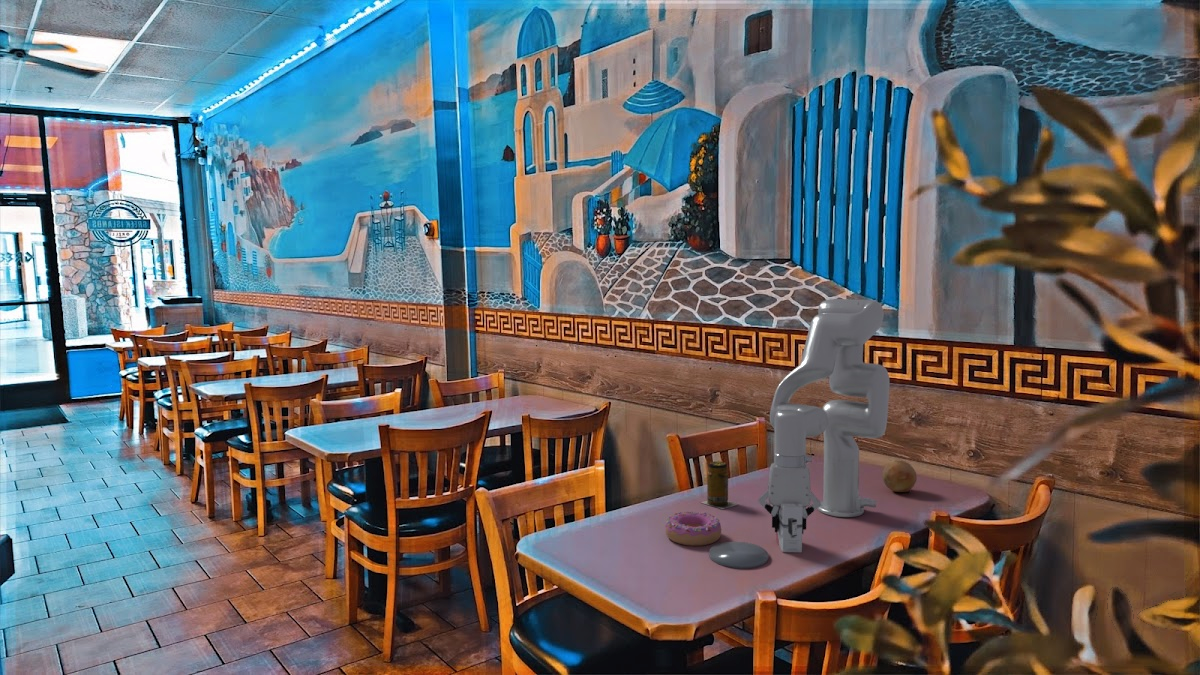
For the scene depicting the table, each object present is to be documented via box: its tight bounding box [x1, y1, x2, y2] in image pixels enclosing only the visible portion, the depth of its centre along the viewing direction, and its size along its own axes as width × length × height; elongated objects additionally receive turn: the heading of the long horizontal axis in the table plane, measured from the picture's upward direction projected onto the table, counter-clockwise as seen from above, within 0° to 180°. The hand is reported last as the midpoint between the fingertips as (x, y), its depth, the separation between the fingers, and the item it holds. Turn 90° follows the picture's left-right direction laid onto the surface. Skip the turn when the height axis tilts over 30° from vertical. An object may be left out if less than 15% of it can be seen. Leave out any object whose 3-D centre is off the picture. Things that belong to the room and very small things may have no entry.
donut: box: [665, 511, 722, 547], centre depth 195 cm, size 14×14×5 cm
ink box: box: [775, 503, 803, 553], centre depth 187 cm, size 9×5×12 cm, turn 178°
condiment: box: [700, 461, 739, 510], centre depth 220 cm, size 7×8×12 cm
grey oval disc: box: [708, 541, 769, 569], centre depth 182 cm, size 14×14×1 cm
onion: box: [882, 458, 918, 493], centre depth 229 cm, size 10×10×10 cm
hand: (788, 530), depth 187 cm, fingers closed on ink box, 5 cm apart
